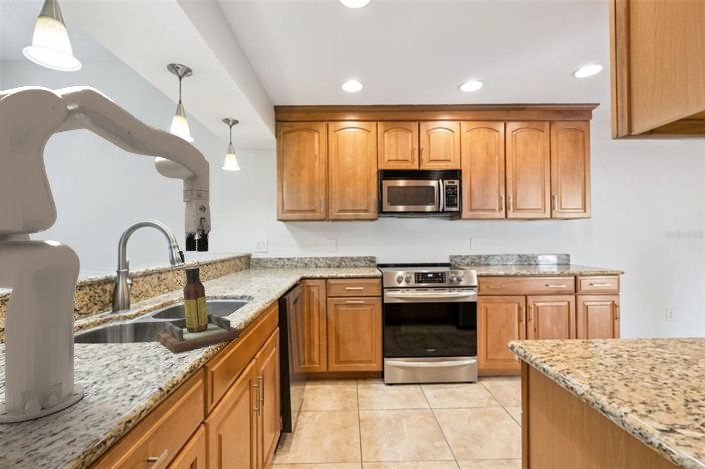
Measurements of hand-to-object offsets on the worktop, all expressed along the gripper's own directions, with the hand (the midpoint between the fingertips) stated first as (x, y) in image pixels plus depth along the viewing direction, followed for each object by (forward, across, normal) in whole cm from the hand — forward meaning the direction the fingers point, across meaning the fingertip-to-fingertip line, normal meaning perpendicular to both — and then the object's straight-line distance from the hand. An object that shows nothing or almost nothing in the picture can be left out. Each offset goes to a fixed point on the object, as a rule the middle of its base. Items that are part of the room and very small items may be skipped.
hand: (196, 251), depth 101 cm
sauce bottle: (+25, 0, 0) cm, 25 cm away
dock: (+28, -1, 0) cm, 28 cm away
